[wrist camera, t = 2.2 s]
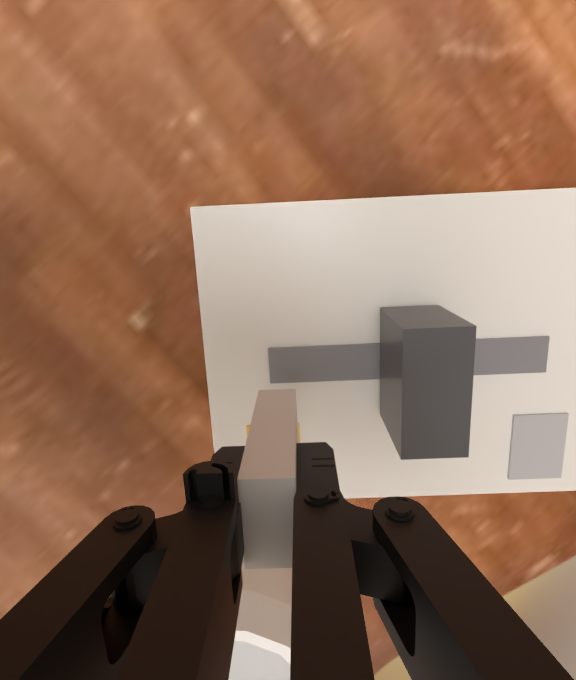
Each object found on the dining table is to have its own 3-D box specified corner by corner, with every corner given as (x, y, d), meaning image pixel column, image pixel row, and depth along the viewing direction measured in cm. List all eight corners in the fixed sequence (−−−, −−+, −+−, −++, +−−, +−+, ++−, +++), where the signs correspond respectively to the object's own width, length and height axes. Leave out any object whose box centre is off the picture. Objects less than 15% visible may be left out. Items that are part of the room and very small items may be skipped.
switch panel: (211, 210, 28) (189, 206, 22) (562, 193, 28) (638, 184, 22) (232, 453, 32) (218, 504, 26) (537, 441, 32) (594, 491, 26)
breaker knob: (380, 307, 23) (403, 329, 18) (438, 304, 23) (476, 325, 18) (379, 413, 25) (400, 459, 20) (434, 411, 25) (468, 457, 20)
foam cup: (279, 455, 32) (271, 601, 20) (334, 551, 34) (357, 740, 22) (167, 505, 34) (92, 674, 21) (226, 596, 36) (190, 799, 23)
